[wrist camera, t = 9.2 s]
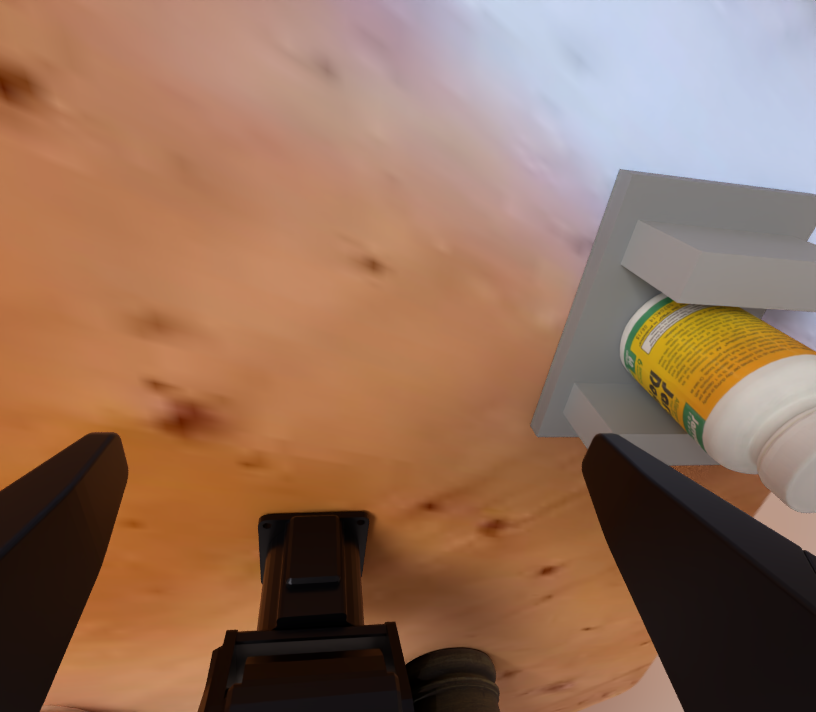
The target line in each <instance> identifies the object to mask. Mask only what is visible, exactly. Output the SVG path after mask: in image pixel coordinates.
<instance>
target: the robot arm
mask: <svg viewBox="0 0 816 712" xmlns="http://www.w3.org/2000/svg"><path fill="white" fill-rule="evenodd" d="M582 473H583V476H584V479H585V482H586V485H587V488H588V491H589V493H590V496H591V499H592V502H593V505H594V508H595V511H596V514H597V517H598V520H599V522H600V525H601V528H602V531H603V534H604V536H605V539H606V541H607V544H608V546H609V548H610V551H611V553H612V555H613V557H614V559H615V562H616V564H617V566H618V568H619V570H620V573H621V575H622V577H623V579H624V581H625V583H626V586H627V588H628V590H629V592H630V594H631V596H632V599H633V601H634V603H635V605H636V607H637V610H638V612H639V614H640V616H641V618H642V620H643V623H644V625H645V627H646V629H647V631H648V633H649V636H650V638H651V640H652V642H653V644H654V646H655V649H656V651H657V653H658V655H659V657H660V659H661V662H662V664H663V666H664V668H665V670H666V673H667V675H668V677H669V679H670V681H671V683H672V686H673V688H674V690H675V692H676V694H677V697H678V699H679V701H680V703H681V705H682V707H683V709H684V712H816V556H814V555H813V554H811V553H810V552H808V551H806V550H802V548H801V547H800V546H798V545H796V544H795V543H793V542H792V541H790V540H788V539H787V538H785V537H783V536H782V535H780V534H779V533H777V532H775V531H774V530H772V529H770V528H768V527H767V526H766V525H764V524H762V523H761V522H759V521H757V520H756V519H754V518H753V517H751V516H749V515H748V514H746V513H744V512H743V511H741V510H740V509H738V508H736V507H735V506H733V505H732V504H730V503H728V502H727V501H725V500H723V499H722V498H720V497H719V496H717V495H715V494H714V493H712V492H710V491H709V490H707V489H706V488H704V487H702V486H701V485H699V484H697V483H696V482H694V481H693V480H691V479H689V478H688V477H686V476H685V475H683V474H681V473H680V472H678V471H676V470H675V469H673V468H672V467H670V466H668V465H667V464H665V463H663V462H662V461H660V460H659V459H657V458H655V457H654V456H652V455H651V454H649V453H647V452H646V451H644V450H642V449H641V448H639V447H638V446H636V445H634V444H633V443H631V442H629V441H628V440H626V439H625V438H623V437H621V436H620V435H618V434H615V433H599V434H596V435H595V436H594V437H593V439H592V441H591V443H590V446H589V448H588V450H587V452H586V455H585V457H584V459H583V462H582ZM127 479H128V465H127V461H126V457H125V453H124V449H123V445H122V441H121V438H120V436H119V435H118V434H117V433H114V432H94V433H89V434H87V435H85V436H84V437H82V438H81V439H79V440H78V441H76V442H75V443H73V444H72V445H70V446H68V447H67V448H65V449H64V450H62V451H61V452H59V453H58V454H56V455H55V456H53V457H52V458H50V459H49V460H47V461H46V462H44V463H43V464H41V465H39V466H38V467H36V468H35V469H33V470H32V471H30V472H29V473H27V474H26V475H24V476H23V477H21V478H20V479H18V480H17V481H15V482H13V483H12V484H10V485H9V486H7V487H6V488H4V489H3V490H1V491H0V712H40V710H41V708H42V706H43V703H44V701H45V699H46V696H47V694H48V692H49V689H50V687H51V685H52V682H53V680H54V678H55V675H56V673H57V671H58V668H59V666H60V663H61V661H62V659H63V656H64V654H65V652H66V649H67V647H68V645H69V642H70V640H71V638H72V635H73V633H74V631H75V628H76V626H77V624H78V621H79V619H80V617H81V614H82V612H83V609H84V607H85V605H86V602H87V600H88V598H89V595H90V593H91V591H92V588H93V586H94V584H95V581H96V579H97V576H98V574H99V571H100V569H101V566H102V563H103V560H104V557H105V554H106V551H107V548H108V544H109V541H110V537H111V534H112V531H113V527H114V524H115V521H116V517H117V514H118V510H119V507H120V504H121V500H122V497H123V493H124V490H125V487H126V483H127ZM368 526H369V516H368V514H367V513H365V512H335V513H303V514H271V515H263V516H261V517H260V518H259V523H258V534H259V552H260V570H261V583H262V584H263V586H262V594H261V602H260V610H259V618H258V626H257V631H242V632H238V630H227V631H226V635H225V639H224V644H223V646H221V647H219V648H217V649H215V650H214V651H213V652H212V658H211V663H210V668H209V673H208V678H207V682H206V686H205V690H204V693H203V697H202V700H201V703H200V706H199V709H198V712H414V706H413V698H412V693H411V688H410V684H409V679H408V675H407V671H406V666H405V662H404V657H403V653H402V649H401V644H400V640H399V636H398V631H397V627H396V623H395V622H385V624H377V625H364V616H363V600H362V585H361V577H362V571H363V564H364V556H365V549H366V541H367V534H368Z"/></svg>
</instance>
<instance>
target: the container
mask: <svg viewBox="0 0 816 712" xmlns="http://www.w3.org/2000/svg"><path fill="white" fill-rule="evenodd" d="M405 666H406V671H407V675H408V679H409V684H410V688H411V693H412V698H413V706H414V712H500V709H499V706H498V702H499V694H500V693H499V688H498V686H497V685H496V684H495V680H496V671H495V667H494V665H493V663H492V661H491V659H490V658H489V657H488V656H487V655H486V654H484V653H482V652H480V651H477V650H473V649H465V648H452V649H445V650H439V651H435V652H432V653H429V654H426V655H423V656H420V657H418V658H416V659H414V660H412V661H411V662H409V663H408V664H406V665H405Z"/></svg>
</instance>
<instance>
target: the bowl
mask: <svg viewBox="0 0 816 712" xmlns="http://www.w3.org/2000/svg"><path fill="white" fill-rule="evenodd" d="M40 712H89V711H85V710H82V709H77V708H71V707H65V706H51V705H43V706H42V708H41V710H40Z"/></svg>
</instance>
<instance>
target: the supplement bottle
mask: <svg viewBox="0 0 816 712" xmlns="http://www.w3.org/2000/svg"><path fill="white" fill-rule="evenodd" d="M620 359H621V361H622V364H623V365H624V367H625V368H626V370H627V371H628V372H629V373H630V374H631V375H632V376H633V377H634V379H635V380H636V381H638V383H639V384H640V385H641V386H642V387H643V388H644V389H645V390H646V391H647V392H648V393H649V394H650V395H651V396H652V397H653V398H654V399H655V400H656V401H657V402H658V403H659V404H660V405H661V406H662V407H663V408H664V409H665V410H666V411H667V412H668V414H670V415H671V416H672V417H673V418H674V419H675V421H676V422H677V423H678V424H679V425H680V426H681V427H682V428H683V429H684V430H685V431H686V432H687V433H688V434H689V435H690V436H691V437H692V438H693V439H694V440H695V441H696V442H697V443H698V445H699V446H700V447H701V448H702V449H703V450H704V451H705V452H706V453H707V454H708V455H709V456H710V457H712V458H713V459H714V460H715V461H716V462H718V463H719V464H720V465H722V466H724V467H726V468H728V469H730V470H733V471H736V472H740V473H746V474H758V475H759V477H760V479H761V482H762V483H763V484H764V485H765V486H766V487H767V488H768V489H769V490H770V491H771V492H773V493H774V494H775V495H776V496H777V497H778V498H779V499H780V500H781V501H783V502H784V503H785V504H786V505H787V506H788V507H790V508H791V509H793V510H795V511H797V512H801V513H816V352H815V351H814V350H812V349H810V348H808V347H807V346H805V345H803V344H802V343H800V342H798V341H796V340H795V339H793V338H791V337H789V336H788V335H786V334H784V333H783V332H781V331H779V330H777V329H776V328H774V327H772V326H771V325H769V324H767V323H765V322H764V321H762V320H761V319H759V318H757V317H755V316H754V315H752V314H750V313H749V312H747V311H745V310H743V309H742V308H740V307H732V306H716V305H701V304H686V303H677V302H675V301H674V300H672V299H671V298H669V297H668V296H666V295H665V294H664V293H661V294H659V295H657V296H655V297H653V298H652V299H650V300H649V301H647V302H646V303H645V304H644V305H643V306H642V307H641V308H639V309H638V310H637V312H636V313H635V314H634V315H633V316H632V318H631V319H630V320H629V322H628V323H627V325H626V327H625V329H624V332H623V334H622V337H621V342H620Z"/></svg>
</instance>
